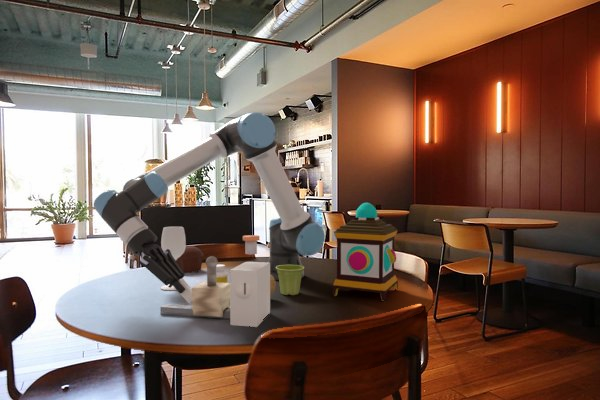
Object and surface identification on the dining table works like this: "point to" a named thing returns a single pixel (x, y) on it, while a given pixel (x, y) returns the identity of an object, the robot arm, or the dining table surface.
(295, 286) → the plant pot
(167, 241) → the wineglass
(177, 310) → the rail track
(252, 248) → the orange mushroom
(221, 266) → the supplement bottle
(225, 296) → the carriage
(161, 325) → the dining table surface
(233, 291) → the end cabinet
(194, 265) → the muffin
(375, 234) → the decorative lantern
